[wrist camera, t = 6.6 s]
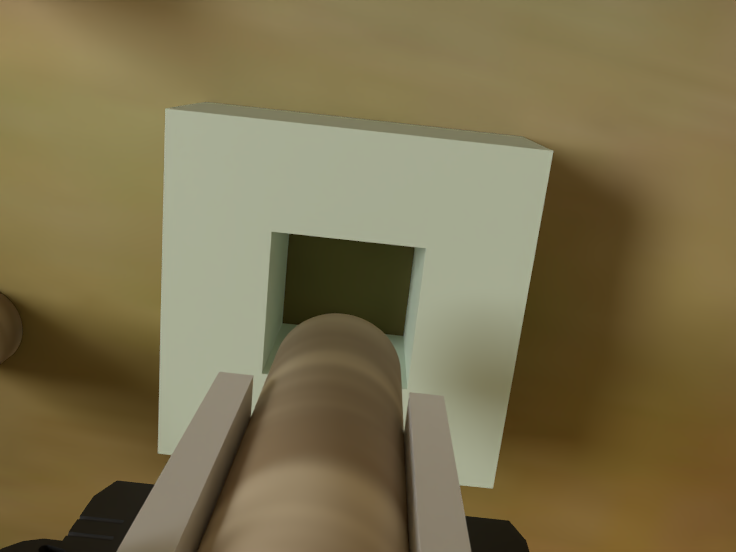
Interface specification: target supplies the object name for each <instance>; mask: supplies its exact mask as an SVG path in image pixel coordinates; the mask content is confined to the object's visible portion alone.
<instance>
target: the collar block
mask: <svg viewBox="0 0 736 552" xmlns="http://www.w3.org/2000/svg"><path fill="white" fill-rule="evenodd" d="M552 156H553V150H550V149H548V148H546V147H544V146H542V145H540V144H537V143H535V142H533V141H531V140H529V139H526V138H524V137H521V136H512V135H503V134H494V133H485V132H476V131H467V130H457V129H448V128H439V127H430V126H421V125H412V124H403V123H393V122H384V121H375V120H366V119H357V118H348V117H339V116H329V115H320V114H311V113H302V112H293V111H284V110H275V109H266V108H256V107H247V106H238V105H229V104H220V103H211V102H202V103H196V104H190V105H184V106H178V107H172V108H165V151H164V196H163V241H162V287H161V332H160V377H159V422H158V453H159V454H168V455H172V453H173V452H174V450H175V448H176V446H177V445H178V443H179V441H180V439H181V438H182V436H183V434H184V432H185V431H186V429H187V427H188V425H189V424H190V422H191V420H192V418H193V417H194V415H195V413H196V411H197V410H198V408H199V406H200V404H201V403H202V401H203V399H204V397H205V396H206V394H207V392H208V390H209V389H210V387H211V385H212V383H213V382H214V380H215V378H216V376H217V375H218V373H219V372H227V373H236V374H245V375H254V376H253V392H252V407H251V415H252V413H253V410H254V408H255V406H256V403H257V401H258V398H259V396H260V393H261V391H262V388H263V386H264V383H265V381H266V378H267V376H268V373H269V371H270V368H271V366H272V363H273V361H274V358H275V356H276V353H277V351H278V349H279V346H280V344H281V343H282V341H283V340H284V338H285V337H286V336H287V335H288V333H289V332H290V331H291V330H293V329H294V328H295V327H296V326H298V325H295V324H286V323H282V322H283V309H284V295H285V282H286V269H287V255H288V242H289V234H298V235H307V236H317V237H326V238H335V239H344V240H354V241H363V242H372V243H381V244H391V245H400V246H409V247H415V249H414V257H413V265H412V272H411V280H410V288H409V296H408V304H407V311H406V319H405V327H404V335H403V336H398V335H389V334H385V335H386V336H387V337H388V338H389V340H390V341H391V343H392V344H393V346H394V348H395V350H396V352H397V355H398V357H399V361H400V366H401V382H402V403H403V424H404V429H405V421H406V414H407V406H408V399H409V392H412V393H421V394H430V395H439V396H444V401H445V406H446V412H447V417H448V423H449V429H450V434H451V440H452V446H453V451H454V457H455V463H456V468H457V474H458V479H459V485H464V486H473V487H483V488H492V489H493V485H494V479H495V474H496V468H497V463H498V457H499V452H500V446H501V440H502V435H503V429H504V424H505V418H506V413H507V407H508V401H509V396H510V390H511V385H512V379H513V374H514V368H515V362H516V357H517V351H518V346H519V340H520V335H521V329H522V323H523V318H524V312H525V307H526V301H527V296H528V290H529V284H530V279H531V273H532V268H533V262H534V257H535V251H536V245H537V240H538V234H539V229H540V223H541V218H542V212H543V206H544V201H545V195H546V190H547V184H548V179H549V173H550V168H551V162H552Z"/></svg>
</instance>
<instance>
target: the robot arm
mask: <svg viewBox="0 0 736 552" xmlns="http://www.w3.org/2000/svg"><path fill="white" fill-rule="evenodd" d="M253 376H254V375H245V374H236V373H227V372H219V373H218V375H217V376H216V378H215V380H214V382H213V383H212V385H211V387H210V389H209V390H208V392H207V394H206V396H205V397H204V399H203V401H202V403H201V404H200V406H199V408H198V410H197V411H196V413H195V415H194V417H193V418H192V420H191V422H190V424H189V425H188V427H187V429H186V431H185V432H184V434H183V436H182V438H181V439H180V441H179V443H178V445H177V446H176V448H175V450H174V452H173V453H172V455H171V457H170V459H169V460H168V462H167V464H166V466H165V467H164V469H163V471H162V473H161V474H160V476H159V478H158V480H157V481H156V483H155V485H153V484H144V483H134V482H125V481H116V482H114V483H113V484H111V485H110V486H108V487H107V488H105V489H104V490H102V491H101V492H99V493H98V494H96V495H95V496H94V497H93V498H92V499H91V501H90V502H89V504H88V505H87V506H86V508H85V509H84V511H83V512H82V514H81V515H80V519H79V520H78V519H77V521H76V522H75V524H74V525H73V526H72V528H71V529H70V531H69V534H68V536H65V538H64V539H63V541H59V540H51V539H37V540H29V541H22V542H19V543H16V544H14V545H11V546H8V547H5V548H2V549H0V552H197V550H198V548H199V545H200V543H201V540H202V538H203V535H204V533H205V530H206V528H207V525H208V523H209V520H210V518H211V515H212V513H213V510H214V508H215V505H216V503H217V500H218V498H219V495H220V493H221V490H222V488H223V485H224V483H225V480H226V478H227V475H228V473H229V470H230V468H231V465H232V463H233V460H234V458H235V455H236V453H237V450H238V448H239V445H240V443H241V440H242V438H243V435H244V433H245V430H246V428H247V425H248V423H249V420H250V418H251V407H252V392H253ZM404 450H405V472H406V493H407V514H408V535H409V552H529V549H528V546H527V542H526V540H525V539H524V538H523V537H522V535H521V534H520V533H519V532H518V531H517V530H516V528H515V527H514V526H513V525H512V524H511V523H510V521H506V520H497V519H488V518H478V517H469V516H465V513H464V508H463V502H462V496H461V491H460V485H459V479H458V474H457V468H456V463H455V457H454V451H453V446H452V440H451V434H450V429H449V423H448V417H447V412H446V406H445V401H444V396H439V395H430V394H421V393H412V392H409V399H408V406H407V414H406V421H405V429H404Z"/></svg>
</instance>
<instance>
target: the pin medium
mask: <svg viewBox="0 0 736 552" xmlns="http://www.w3.org/2000/svg"><path fill="white" fill-rule="evenodd" d="M22 334H23V328H22V321H21V318H20V315H19V313H18V311H17V309H16V308H15V306H14V305H13V304H12V302H11V301H10V300H9V299H8V298H7V297H5V296H4V295H3V294H1V293H0V364H1V363H2V362H3V361H5V360H6V359H7V358H9V357H10V356H11V355H12V354H13V353H14V352H15V351H16V350H17V349H18V347H19V345H20V343H21V340H22Z"/></svg>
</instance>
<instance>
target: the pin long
mask: <svg viewBox="0 0 736 552" xmlns="http://www.w3.org/2000/svg"><path fill="white" fill-rule="evenodd" d="M197 552H409V535H408V514H407V493H406V472H405V450H404V424H403V403H402V382H401V366H400V361H399V357H398V355H397V352H396V350H395V348H394V346H393V344H392V343H391V341H390V340H389V338H388V337H387V336H386V335H385V334H384V333H383V332H382V331H381V330H380V329H379V328H377V327H376V326H375V325H373V324H372V323H370V322H368V321H366V320H364V319H362V318H359V317H356V316H353V315H348V314H338V313H333V314H324V315H319V316H316V317H313V318H310V319H308V320H306V321H304V322H302V323H301V324H299V325H298V326H296V327H295V328H294V329H293V330H291V331H290V332H289V333H288V335H287V336H286V337H285V338H284V340H283V341H282V343H281V344H280V346H279V349H278V351H277V353H276V356H275V358H274V361H273V363H272V366H271V368H270V371H269V373H268V376H267V378H266V381H265V383H264V386H263V388H262V391H261V393H260V396H259V398H258V401H257V403H256V406H255V408H254V410H253V413H252V415H251V418H250V420H249V423H248V425H247V428H246V430H245V433H244V435H243V438H242V440H241V443H240V445H239V448H238V450H237V453H236V455H235V458H234V460H233V463H232V465H231V468H230V470H229V473H228V475H227V478H226V480H225V483H224V485H223V488H222V490H221V493H220V495H219V498H218V500H217V503H216V505H215V508H214V510H213V513H212V515H211V518H210V520H209V523H208V525H207V528H206V530H205V533H204V535H203V538H202V540H201V543H200V545H199V548H198V550H197Z"/></svg>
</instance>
